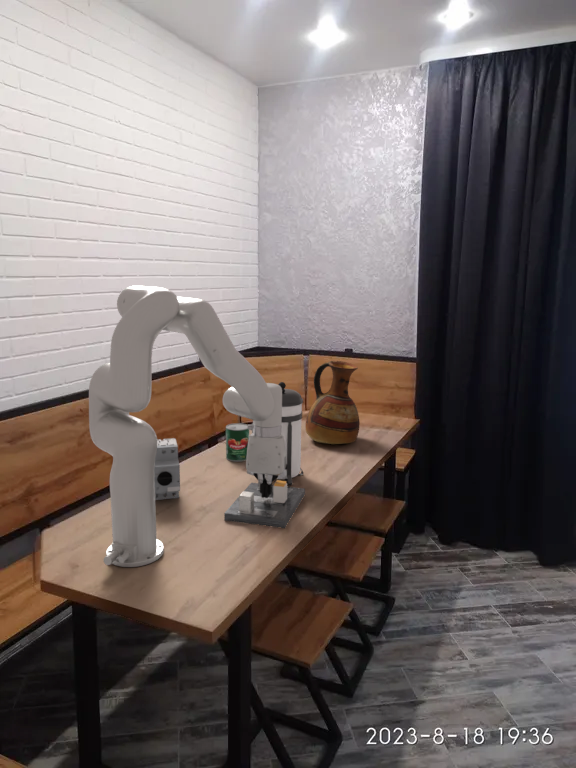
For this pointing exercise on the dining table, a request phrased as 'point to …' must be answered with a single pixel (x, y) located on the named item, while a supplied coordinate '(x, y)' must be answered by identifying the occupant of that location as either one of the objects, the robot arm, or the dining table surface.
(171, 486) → the circuit breaker
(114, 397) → the robot arm
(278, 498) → the toggle
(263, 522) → the panel
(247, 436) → the canned tomato
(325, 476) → the dining table surface
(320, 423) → the ceramic pitcher
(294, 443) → the coffee press
